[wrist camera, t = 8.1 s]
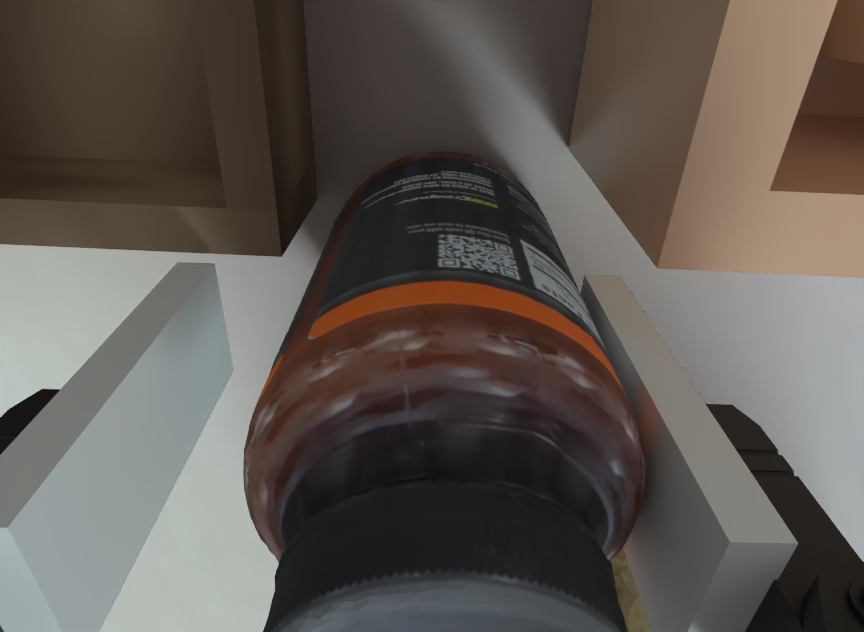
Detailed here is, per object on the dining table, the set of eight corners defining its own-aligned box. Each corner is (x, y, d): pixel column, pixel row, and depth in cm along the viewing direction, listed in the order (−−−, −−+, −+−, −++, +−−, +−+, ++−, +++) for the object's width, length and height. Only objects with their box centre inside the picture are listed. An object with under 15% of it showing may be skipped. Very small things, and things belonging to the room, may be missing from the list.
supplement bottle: (385, 364, 17) (306, 844, 8) (297, 190, 15) (-2, 600, 5) (573, 309, 16) (763, 792, 6) (516, 108, 13) (703, 430, 4)
